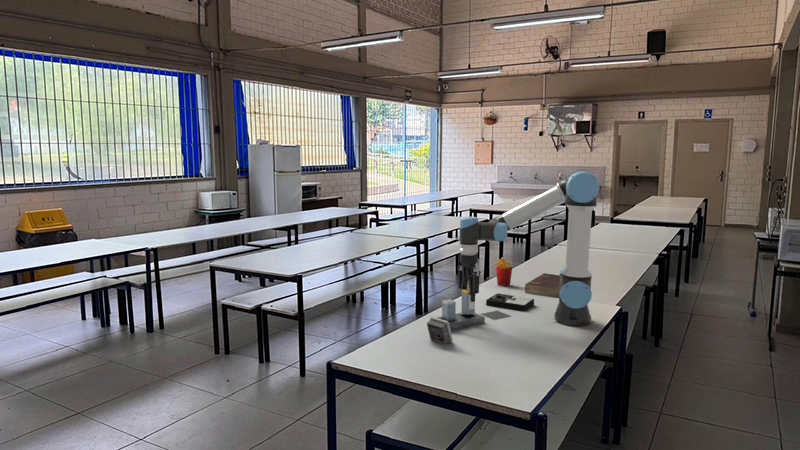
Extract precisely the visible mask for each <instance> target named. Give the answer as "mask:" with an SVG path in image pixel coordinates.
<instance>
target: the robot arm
mask: <svg viewBox="0 0 800 450" xmlns="http://www.w3.org/2000/svg"><path fill="white" fill-rule="evenodd" d="M599 192H600V182H599V180H598V178H597V177H596V176H595V174H593V173H592V172H590V171H589V170H588V171H587V170H584V169H583V170H581V169H578V170H576V171H573V172H571V173H570V174H569V175H568V176H566V177H565V178H563V179H561V180H560V181H558V182H556V184H555V186H554V187H552V188H550V189H548V190H547V191H544V192H542V193H540V194H538V195H536V196H535V197H533V198H531V199H529V200H527V201H525V202H524V203H522V204H519V205H517V206H516V207H513V208H512V209H510V210H508V211H506V212H504V213H502V214H500V215H498V216H496V217H494V218H493V217H492V218H491V219H490V220H489V221H487V222H485V221H484V222H482V221H479V218H478V217H476V216H463V217H461V218H460V221H459V222H460V223H459V263H460V264H461V265H457V266H456V269H457V283H458V284H457V286H458V287H457V288H458V289H460V291H461V292H462V289H469V290H470V293H468V294H469V300H468V309H469V310H470V309H475V310H476V308H475V307H476V294H479V293H480V276H481V271H480V270H478V269H477V264H478V258H479V256H478V253H479V241H489V242H490V241H491V242H492V241H493V242H505V241H506V240H507V239H508V232H509V231H511V230H513V229H515V228H516V227H518V226H520V225H522V224H524V223H525V222H528V221H530V220H533V219H534V218H536V217H538V216H540V215H542V214H545V212H548V211H550V210H552V209H554V208H555V207H559V206H560V205H562V204H565V207H567V209H568V222H567V234H566V235H567V237H566V251H565V252H566V255H565V267H562V268H560V271H559V274H558V275H560V288H559V298H558V304H557V306H556V309H555V312H554V316H553V319H554V321H556V322H557V323H558V324H561V325H565V326H571V327H572V326H573V327H575V326H576V327H582V326H587V325H588V326H589V325H590V324H591V323H592V315H591V314H590V309H589V305H588V304H589V303H590V302H591V299H592V296H593V295H592V294H593V293H592V290H591V289H592V276H593V274H592V272H590V271H589V260H590V247H591V245H590V244H591V232H592V231H591V230H592V229H591V228H592V218H593V217H592V216H593V215H592V214H593V210H594V209H595V208H596V207H597V203H598V201H597V200H598V193H599Z"/></svg>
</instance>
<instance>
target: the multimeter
mask: <svg viewBox="0 0 800 450" xmlns="http://www.w3.org/2000/svg"><path fill="white" fill-rule="evenodd" d="M485 306H487V307H494V308H500V309H507V310H512V311H519V312H526V311H528V310H529V309H531V308H533V307H534V306H535V299H534V298H531V297H525V296H518V295H510V294H505V293H504V294H503V293H495V294H494V295H492V296H491V297H489V298H487V299H486V301H485Z"/></svg>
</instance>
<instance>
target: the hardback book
mask: <svg viewBox="0 0 800 450" xmlns="http://www.w3.org/2000/svg"><path fill="white" fill-rule="evenodd" d="M559 288H560V275H559V274H551V273H545V272H544V273H542V274H540V275H538V276H537V277H535V278H534V279H532V280H530V281H528V282H527V283H525V284H524V293H525V294H531V295H536V296H537V295H538V296H544V297H545V296H546V297H552V298H558V299H559Z"/></svg>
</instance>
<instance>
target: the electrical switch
mask: <svg viewBox="0 0 800 450" xmlns="http://www.w3.org/2000/svg"><path fill="white" fill-rule="evenodd" d="M426 326H427V330H428V335H429V340H431V341H433V342H436V343H439V344H441V345H442V344H443V345H447V344H448V343H450V344H451V343H453V341H454V339H453V335H452V334H453V333H452V331H451V329H450V325H449V322H448V321H445V320H442V319H438V318H436V317H435V316H431V317H430V318H429V321H427V322H426Z"/></svg>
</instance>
